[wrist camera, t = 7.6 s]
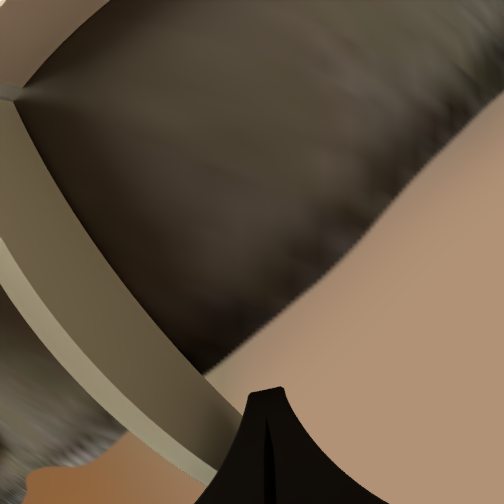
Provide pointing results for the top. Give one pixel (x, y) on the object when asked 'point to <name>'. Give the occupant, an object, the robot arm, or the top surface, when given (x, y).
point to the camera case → (36, 33)
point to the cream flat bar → (100, 318)
